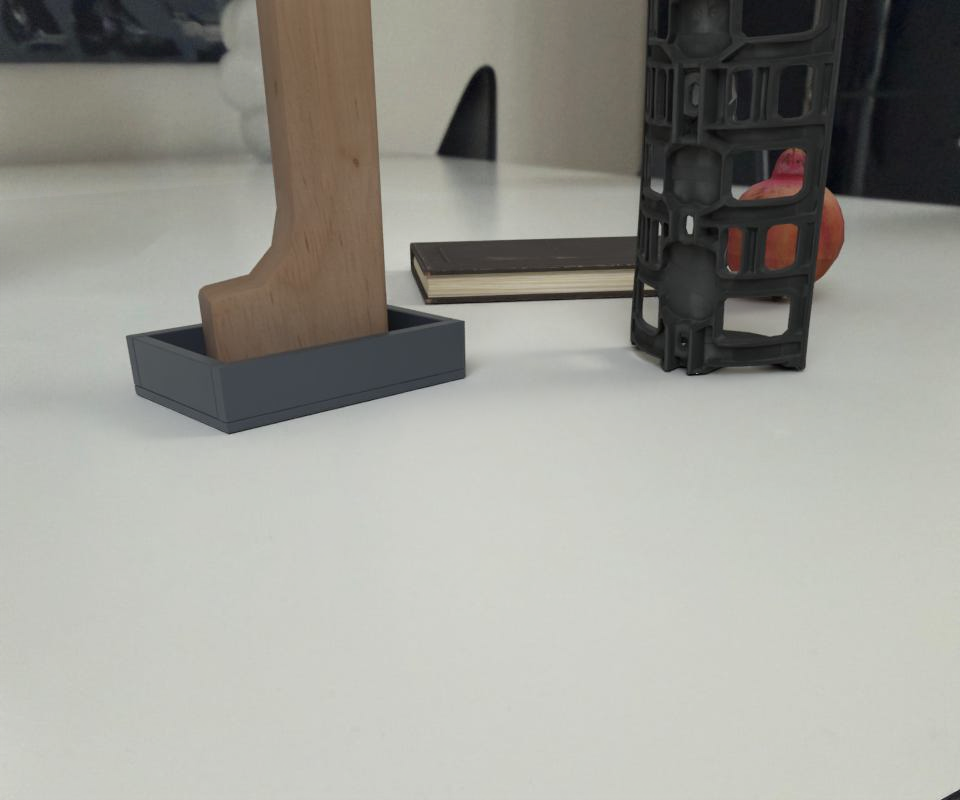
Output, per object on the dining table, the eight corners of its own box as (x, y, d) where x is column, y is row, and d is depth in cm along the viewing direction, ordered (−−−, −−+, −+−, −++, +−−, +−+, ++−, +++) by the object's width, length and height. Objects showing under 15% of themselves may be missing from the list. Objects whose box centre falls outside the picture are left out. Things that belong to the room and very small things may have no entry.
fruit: (705, 291, 76) (719, 145, 72) (809, 289, 77) (829, 143, 72) (736, 312, 69) (753, 151, 64) (850, 309, 70) (876, 149, 65)
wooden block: (220, 394, 50) (161, -38, 42) (208, 373, 54) (151, -27, 45) (393, 376, 53) (371, -32, 44) (370, 357, 57) (345, -23, 48)
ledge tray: (135, 393, 52) (125, 335, 51) (361, 348, 61) (358, 297, 59) (228, 434, 46) (219, 368, 45) (466, 377, 55) (465, 320, 53)
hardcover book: (729, 293, 75) (732, 260, 74) (425, 304, 73) (423, 270, 72) (668, 261, 89) (670, 234, 88) (410, 269, 87) (409, 241, 86)
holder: (827, 351, 57) (878, -75, 46) (790, 395, 52) (836, -73, 41) (647, 334, 63) (654, -53, 52) (596, 373, 57) (591, -49, 46)
